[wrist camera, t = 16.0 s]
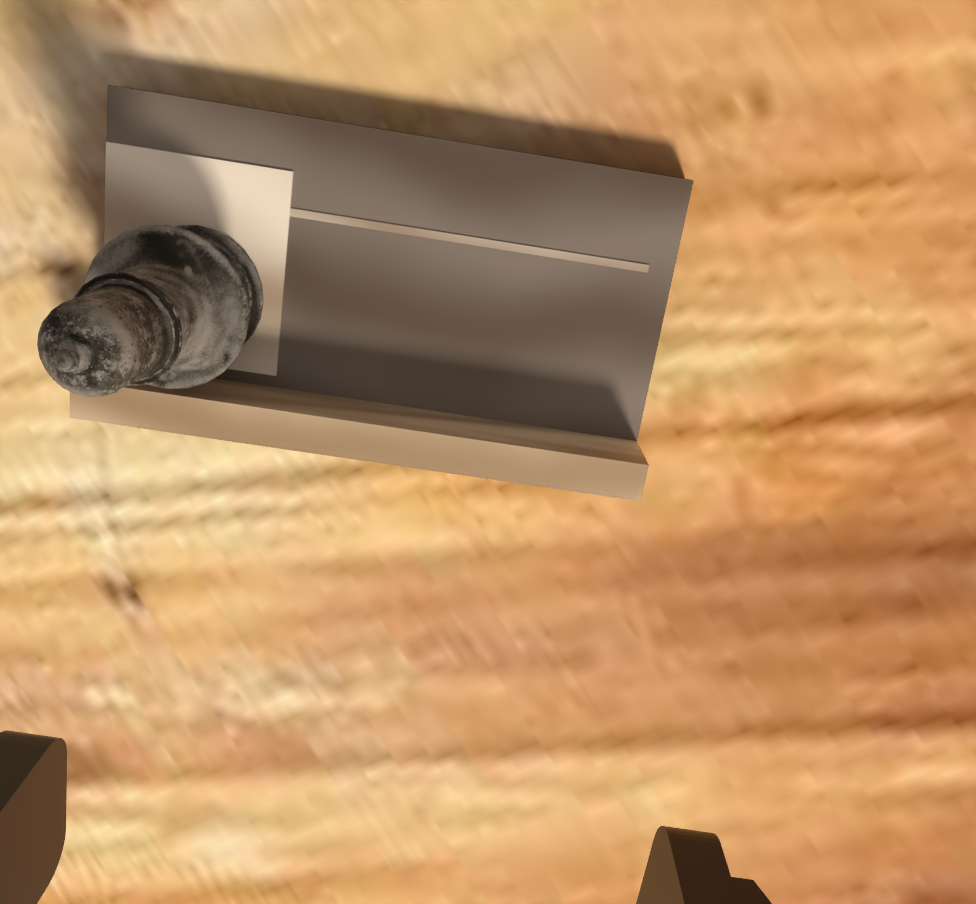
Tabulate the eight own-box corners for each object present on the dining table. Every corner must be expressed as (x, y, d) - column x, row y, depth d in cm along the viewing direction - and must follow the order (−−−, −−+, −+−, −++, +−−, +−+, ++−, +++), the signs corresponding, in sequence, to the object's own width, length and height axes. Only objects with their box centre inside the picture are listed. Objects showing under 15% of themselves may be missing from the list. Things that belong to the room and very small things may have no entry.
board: (123, 87, 35) (72, 79, 31) (685, 178, 36) (711, 183, 32) (116, 387, 39) (69, 417, 35) (624, 463, 40) (640, 501, 36)
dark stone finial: (169, 389, 37) (27, 497, 26) (92, 254, 36) (-95, 307, 24) (297, 331, 36) (209, 417, 25) (226, 191, 35) (96, 214, 23)
